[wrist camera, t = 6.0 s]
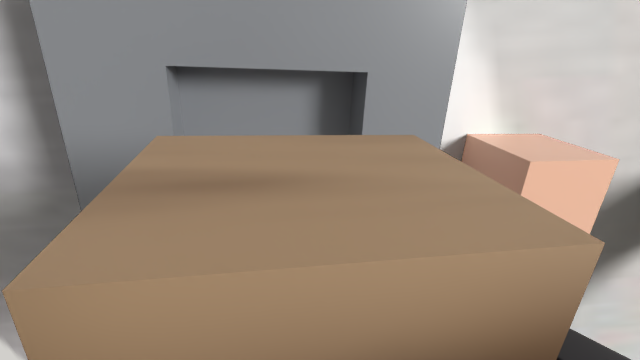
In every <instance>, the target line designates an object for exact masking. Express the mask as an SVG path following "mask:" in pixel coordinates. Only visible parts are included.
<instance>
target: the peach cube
mask: <svg viewBox="0 0 640 360" xmlns="http://www.w3.org/2000/svg"><path fill="white" fill-rule="evenodd" d="M461 162H463V163H465V164H466V165H468V166H470V167H472V168H473V169H475V170H477V171H479V172H480V173H482V174H484V175H486V176H488V177H489V178H491V179H493V180H495V181H496V182H498V183H500V184H502V185H503V186H505V187H507V188H509V189H511V190H512V191H514V192H516V193H518V194H519V195H521V196H523V197H525V198H526V199H528V200H530V201H532V202H534V203H535V204H537V205H539V206H541V207H542V208H544V209H546V210H548V211H549V212H551V213H553V214H555V215H557V216H558V217H560V218H562V219H564V220H565V221H567V222H569V223H571V224H572V225H574V226H576V227H578V228H580V229H581V230H583V231H585V232H587V233H588V234H590V232H591V230H592V227H593V225H594V222H595V220H596V217H597V215H598V212H599V210H600V207H601V205H602V202H603V200H604V197H605V195H606V192H607V190H608V187H609V185H610V182H611V180H612V177H613V175H614V172H615V170H616V167H617V165H618V162H619V159H616V158H613V157H610V156H607V155H604V154H601V153H598V152H595V151H591V150H588V149H585V148H582V147H579V146H576V145H573V144H570V143H567V142H563V141H560V140H557V139H554V138H551V137H548V136H545V135H542V134H467V137H466V141H465V146H464V151H463V156H462V160H461Z"/></svg>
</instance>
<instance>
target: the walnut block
mask: <svg viewBox="0 0 640 360" xmlns="http://www.w3.org/2000/svg"><path fill="white" fill-rule="evenodd" d="M604 244H605V243H604V242H603V241H601V240H599V239H597V238H595V237H594V236H592V235H590V234H588V233H587V232H585V231H583V230H581V229H580V228H578V227H576V226H574V225H572V224H571V223H569V222H567V221H565V220H564V219H562V218H560V217H558V216H557V215H555V214H553V213H551V212H549V211H548V210H546V209H544V208H542V207H541V206H539V205H537V204H535V203H534V202H532V201H530V200H528V199H526V198H525V197H523V196H521V195H519V194H518V193H516V192H514V191H512V190H511V189H509V188H507V187H505V186H503V185H502V184H500V183H498V182H496V181H495V180H493V179H491V178H489V177H488V176H486V175H484V174H482V173H480V172H479V171H477V170H475V169H473V168H472V167H470V166H468V165H466V164H465V163H463V162H461V161H459V160H457V159H456V158H454V157H452V156H450V155H449V154H447V153H445V152H443V151H442V150H440V149H438V148H436V147H434V146H433V145H431V144H429V143H427V142H426V141H424V140H422V139H420V138H419V137H417V136H415V135H248V136H156V137H155V138H154V139H153V140H152V141H151V142H150V143H149V144H148V145H147V146H146V147H145V148H144V149H143V150H142V151H141V152H140V153H139V154H138V155H137V156H136V157H135V158H134V159H133V160H132V161H131V162H130V163H129V164H128V165H127V166H126V167H125V168H124V169H123V170H122V171H121V172H120V173H119V174H118V175H117V176H116V177H115V178H114V179H113V180H112V181H111V182H110V183H109V184H108V185H107V186H106V187H105V188H104V189H103V190H102V191H101V192H100V193H99V194H98V195H97V196H96V197H95V198H94V199H93V200H92V201H91V202H90V203H89V204H88V205H87V206H86V207H85V208H84V209H83V210H82V211H81V212H80V213H79V214H78V215H77V216H76V217H75V218H74V219H73V220H72V221H71V222H70V223H69V224H68V225H67V226H66V227H65V228H64V229H63V230H62V231H61V232H60V233H59V234H58V235H57V236H56V237H55V238H54V239H53V240H52V241H51V242H50V243H49V244H48V245H47V246H46V247H45V248H44V249H43V250H42V251H41V252H40V253H39V254H38V255H37V256H36V257H35V258H34V259H33V260H32V261H31V262H30V263H29V264H28V265H27V266H26V267H25V268H24V269H23V270H22V271H21V272H20V273H19V274H18V275H17V276H16V277H15V278H14V279H13V280H12V281H11V282H10V283H9V284H8V285H7V286H6V287H5V288H4V289H3V290H2V292H3V295H4V298H5V300H6V303H7V306H8V308H9V311H10V313H11V316H12V319H13V321H14V324H15V327H16V329H17V332H18V335H19V337H20V340H21V342H22V345H23V348H24V350H25V353H26V356H27V358H28V360H556V359H557V357H558V354H559V352H560V350H561V347H562V345H563V343H564V340H565V338H566V335H567V333H568V331H569V328H570V326H571V323H572V321H573V319H574V316H575V314H576V311H577V309H578V307H579V304H580V302H581V299H582V297H583V295H584V292H585V290H586V288H587V285H588V283H589V280H590V278H591V276H592V273H593V271H594V268H595V266H596V264H597V261H598V259H599V256H600V254H601V252H602V249H603V247H604Z"/></svg>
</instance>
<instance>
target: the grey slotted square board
mask: <svg viewBox="0 0 640 360" xmlns="http://www.w3.org/2000/svg"><path fill="white" fill-rule="evenodd" d="M29 2H30V6H31V10H32V14H33V18H34V22H35V26H36V30H37V34H38V38H39V42H40V47H41V51H42V55H43V59H44V63H45V67H46V71H47V75H48V79H49V83H50V87H51V91H52V95H53V99H54V103H55V107H56V111H57V115H58V119H59V123H60V127H61V131H62V135H63V139H64V143H65V147H66V151H67V155H68V159H69V164H70V168H71V172H72V176H73V180H74V184H75V188H76V192H77V196H78V200H79V204H80V208H81V211H82V210H83V209H84V208H85V207H86V206H87V205H88V204H89V203H90V202H91V201H92V200H93V199H94V198H95V197H96V196H97V195H98V194H99V193H100V192H101V191H102V190H103V189H104V188H105V187H106V186H107V185H108V184H109V183H110V182H111V181H112V180H113V179H114V178H115V177H116V176H117V175H118V174H119V173H120V172H121V171H122V170H123V169H124V168H125V167H126V166H127V165H128V164H129V163H130V162H131V161H132V160H133V159H134V158H135V157H136V156H137V155H138V154H139V153H140V152H141V151H142V150H143V149H144V148H145V147H146V146H147V145H148V144H149V143H150V142H151V141H152V140H153V139H154V138H155V137H156V136H248V135H415V136H417V137H419V138H420V139H422V140H424V141H426V142H427V143H429V144H431V145H433V146H434V147H436V148H438V149H440V144H441V139H442V134H443V128H444V123H445V117H446V112H447V107H448V101H449V96H450V90H451V85H452V80H453V74H454V69H455V63H456V58H457V53H458V47H459V42H460V36H461V31H462V26H463V20H464V15H465V9H466V4H467V0H29Z"/></svg>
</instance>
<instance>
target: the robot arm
mask: <svg viewBox="0 0 640 360" xmlns="http://www.w3.org/2000/svg"><path fill="white" fill-rule="evenodd" d="M556 360H631V359H629V358H627V357H625V356H623V355H621V354H619V353H617V352H615V351H613V350H611V349H609V348H607V347H605V346H603V345H601V344H599V343H597V342H595V341H593V340H591V339H589V338H587V337H586V336H584V335H582V334H580V333H578V332H576V331H574V330H572V329H570V328H569V331H568V333H567V335H566V338H565V340H564V343H563V345H562V347H561V350H560V352H559V354H558V357H557V359H556Z"/></svg>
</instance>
